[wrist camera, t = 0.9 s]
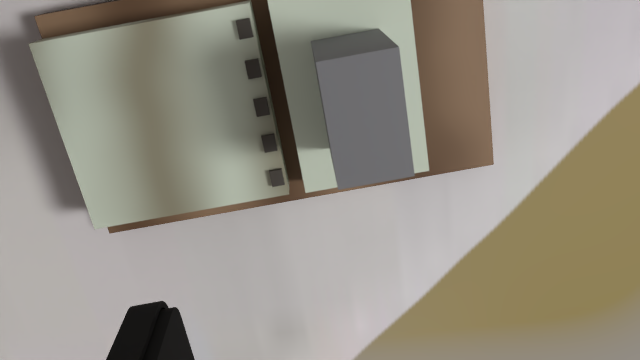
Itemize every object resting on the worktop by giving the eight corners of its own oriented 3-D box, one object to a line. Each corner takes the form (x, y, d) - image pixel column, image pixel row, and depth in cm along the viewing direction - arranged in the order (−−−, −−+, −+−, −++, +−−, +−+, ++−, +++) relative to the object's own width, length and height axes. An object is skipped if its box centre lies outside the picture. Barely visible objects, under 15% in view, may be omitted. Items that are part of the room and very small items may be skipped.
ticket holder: (472, -67, 27) (490, -68, 24) (487, 157, 31) (505, 176, 28) (42, 13, 27) (17, 20, 24) (115, 224, 31) (99, 249, 29)
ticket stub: (401, -28, 26) (435, -20, 20) (422, 160, 29) (457, 215, 23) (268, -3, 26) (262, 12, 20) (304, 181, 29) (308, 241, 23)
